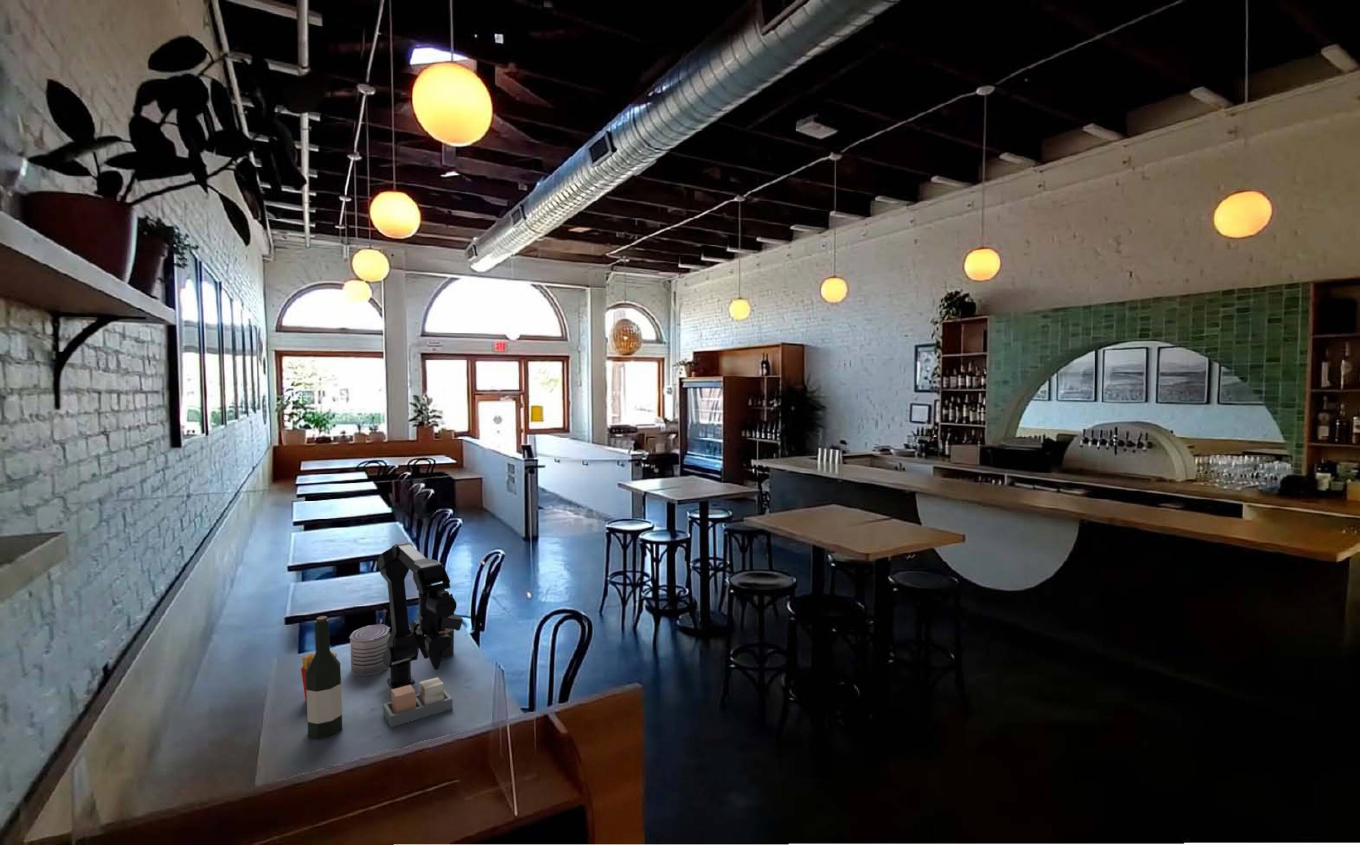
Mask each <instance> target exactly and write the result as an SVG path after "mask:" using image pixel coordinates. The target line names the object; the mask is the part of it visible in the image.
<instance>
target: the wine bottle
mask: <svg viewBox="0 0 1360 845" xmlns="http://www.w3.org/2000/svg"><path fill="white" fill-rule="evenodd" d="M314 640H315V641H314V643H315V644H314V645H315V653H316V654H315V653H314V654H313V655H314V657H313V659H312V661H311V662H310V664H309V666H308V667H307V669H306V691H307V701H306V709H307V710H306V711H307V713H306V714H307V716H306V717H307V738H308V739H312V740H317V739H319V740H323V739H324V740H325V739H328V738H332V737H334V736H336V735H338V733H340V732H342V731H343V712H342V710H343V701H342V678H341V676H342V675H341V674H342V673H341V662H340V661H339V660H338V658H337V656H336V657H335V656H334V655H333V654H332V653H333V652H332V651H331V646H330V619H329V618H328V616H327V615H326V616H325V615H321V616H318V617H316V620H314Z"/></svg>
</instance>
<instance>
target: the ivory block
mask: <svg viewBox="0 0 1360 845" xmlns="http://www.w3.org/2000/svg"><path fill="white" fill-rule="evenodd" d="M418 684H419V694H420V702H421V703H422V705H423V706H424V705H427V704H431V703H434V702H438V701H441V700H444V689H445V688H444V687H445V686H444V684H445V683H444V682H443V681H442V680H441V679H440V678H439V676H437V677H433V678H430V679H426V680H422V681H419V683H418Z"/></svg>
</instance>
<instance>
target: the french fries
mask: <svg viewBox="0 0 1360 845" xmlns="http://www.w3.org/2000/svg"><path fill="white" fill-rule="evenodd" d="M331 653H332V654H333V655H334V656H335V657H336V658H337V656H338V653H335V652H331ZM315 654H316V652H315V653H311V654H308V655H307V656H305V655H303V656H302V658H301V660H302V667H301V668H300V673H301V678H302V685H303V686H302V687H303V692H304V698H305V702H307V691H306V669H307V667H308V666H309V664H310V662H311V661H312V659H313V657H314V655H315Z"/></svg>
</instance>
